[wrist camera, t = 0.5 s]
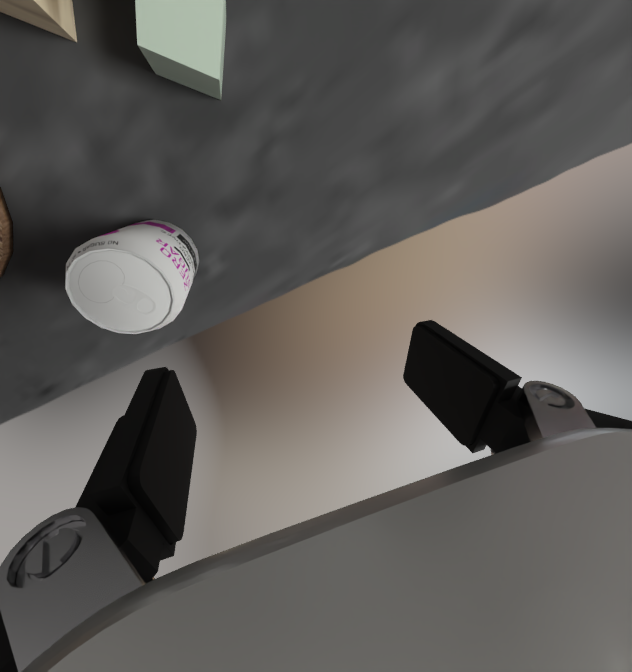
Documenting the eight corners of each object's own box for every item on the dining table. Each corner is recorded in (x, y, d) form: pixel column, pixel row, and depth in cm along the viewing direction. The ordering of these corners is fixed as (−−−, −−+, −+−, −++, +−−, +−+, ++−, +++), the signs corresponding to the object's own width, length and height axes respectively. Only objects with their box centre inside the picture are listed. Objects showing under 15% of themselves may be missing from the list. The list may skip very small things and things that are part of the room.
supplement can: (112, 258, 30) (32, 304, 18) (148, 203, 29) (88, 212, 17) (177, 296, 35) (148, 355, 22) (212, 250, 33) (202, 286, 21)
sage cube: (153, -16, 22) (131, -77, 17) (226, 21, 24) (225, -23, 19) (155, 74, 24) (137, 44, 19) (221, 100, 27) (219, 79, 22)
